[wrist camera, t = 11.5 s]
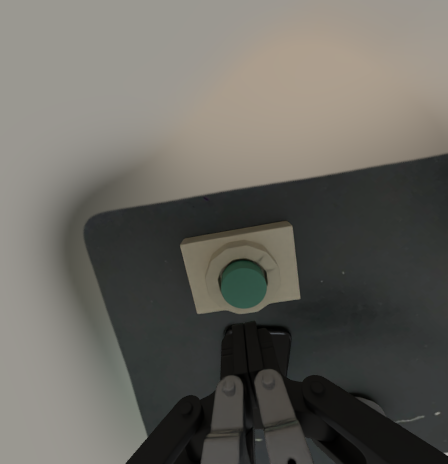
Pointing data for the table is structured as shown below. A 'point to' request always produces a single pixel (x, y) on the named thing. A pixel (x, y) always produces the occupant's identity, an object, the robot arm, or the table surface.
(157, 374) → the table surface
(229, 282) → the flush button
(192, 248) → the green push button box
